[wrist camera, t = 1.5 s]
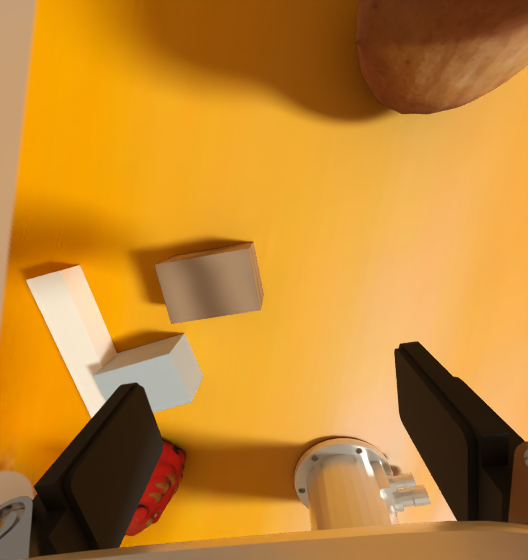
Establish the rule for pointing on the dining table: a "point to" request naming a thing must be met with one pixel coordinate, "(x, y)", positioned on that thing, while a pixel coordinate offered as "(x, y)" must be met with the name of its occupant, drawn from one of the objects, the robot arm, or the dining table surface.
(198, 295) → the walnut block
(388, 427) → the dining table surface
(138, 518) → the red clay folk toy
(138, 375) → the slate block
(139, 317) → the dining table surface
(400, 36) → the butternut squash
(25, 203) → the dining table surface
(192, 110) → the dining table surface
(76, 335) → the stop rail
